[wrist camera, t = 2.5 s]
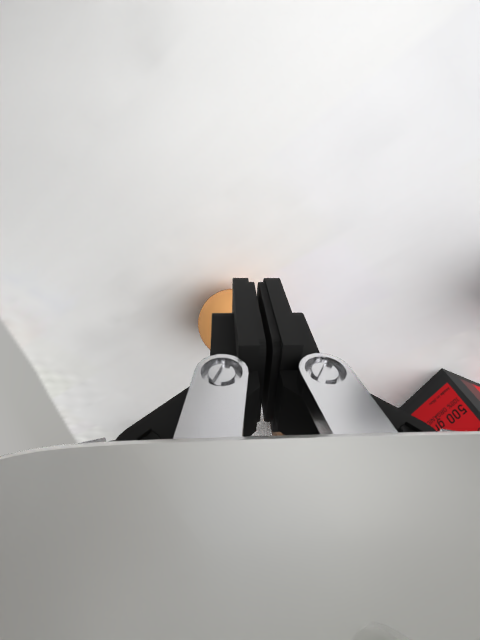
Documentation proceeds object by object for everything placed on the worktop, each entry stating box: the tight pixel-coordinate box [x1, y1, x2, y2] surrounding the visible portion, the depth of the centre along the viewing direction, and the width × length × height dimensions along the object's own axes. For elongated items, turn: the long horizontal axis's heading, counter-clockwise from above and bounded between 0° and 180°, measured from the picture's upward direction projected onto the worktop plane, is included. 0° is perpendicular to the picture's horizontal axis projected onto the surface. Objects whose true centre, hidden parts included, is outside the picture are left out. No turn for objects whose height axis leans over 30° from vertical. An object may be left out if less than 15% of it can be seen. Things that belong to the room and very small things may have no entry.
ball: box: [198, 289, 232, 349], centre depth 28 cm, size 6×6×6 cm
